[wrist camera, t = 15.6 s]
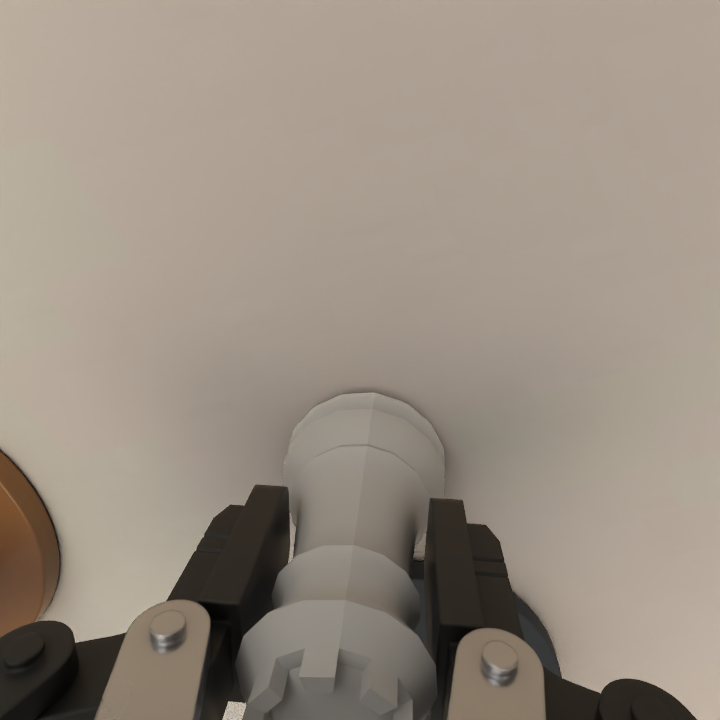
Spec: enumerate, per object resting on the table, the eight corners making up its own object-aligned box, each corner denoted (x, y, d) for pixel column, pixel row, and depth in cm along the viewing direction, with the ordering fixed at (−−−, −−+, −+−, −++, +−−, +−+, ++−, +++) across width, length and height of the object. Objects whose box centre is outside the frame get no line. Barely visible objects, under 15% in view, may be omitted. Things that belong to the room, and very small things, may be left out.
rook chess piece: (294, 374, 14) (170, 596, 7) (457, 396, 14) (517, 649, 7) (285, 510, 16) (175, 815, 8) (431, 531, 16) (456, 863, 8)
